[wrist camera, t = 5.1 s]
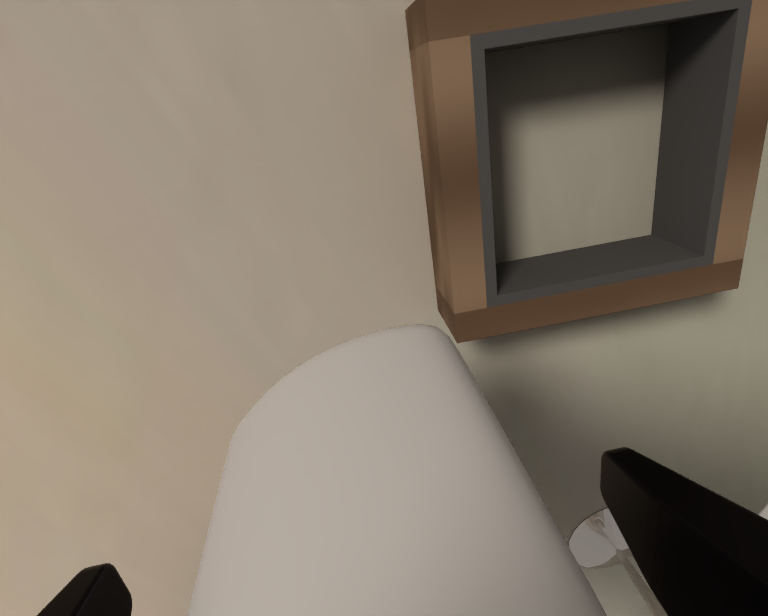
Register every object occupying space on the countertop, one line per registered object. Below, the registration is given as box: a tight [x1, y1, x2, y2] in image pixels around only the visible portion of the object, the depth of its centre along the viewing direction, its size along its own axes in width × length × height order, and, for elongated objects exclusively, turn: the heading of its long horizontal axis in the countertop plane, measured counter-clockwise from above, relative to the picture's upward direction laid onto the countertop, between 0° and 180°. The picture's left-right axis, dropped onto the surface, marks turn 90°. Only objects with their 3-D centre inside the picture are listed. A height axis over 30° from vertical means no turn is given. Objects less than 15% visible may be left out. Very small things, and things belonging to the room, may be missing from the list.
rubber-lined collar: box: [405, 0, 768, 343], centre depth 17 cm, size 11×11×3 cm
